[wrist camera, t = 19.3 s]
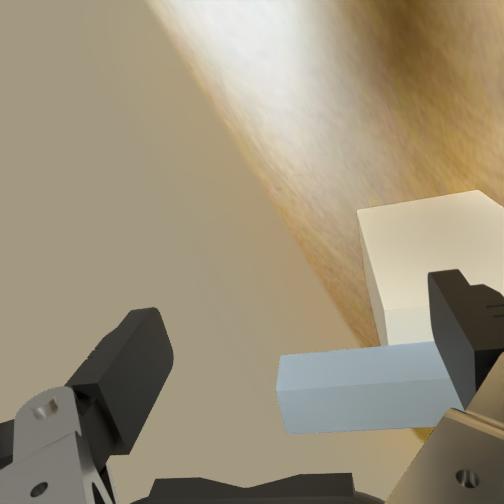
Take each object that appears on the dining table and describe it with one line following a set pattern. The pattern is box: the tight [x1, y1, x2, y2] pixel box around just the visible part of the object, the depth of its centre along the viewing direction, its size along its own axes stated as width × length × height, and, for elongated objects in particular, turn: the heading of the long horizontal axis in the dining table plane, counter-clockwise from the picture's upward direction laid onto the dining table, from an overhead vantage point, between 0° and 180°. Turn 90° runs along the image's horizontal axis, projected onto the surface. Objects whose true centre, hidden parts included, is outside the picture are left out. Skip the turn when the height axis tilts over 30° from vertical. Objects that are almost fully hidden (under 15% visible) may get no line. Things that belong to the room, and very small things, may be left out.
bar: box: [276, 341, 465, 434], centre depth 28 cm, size 4×26×4 cm, turn 102°
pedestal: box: [356, 190, 504, 346], centre depth 41 cm, size 10×14×24 cm
